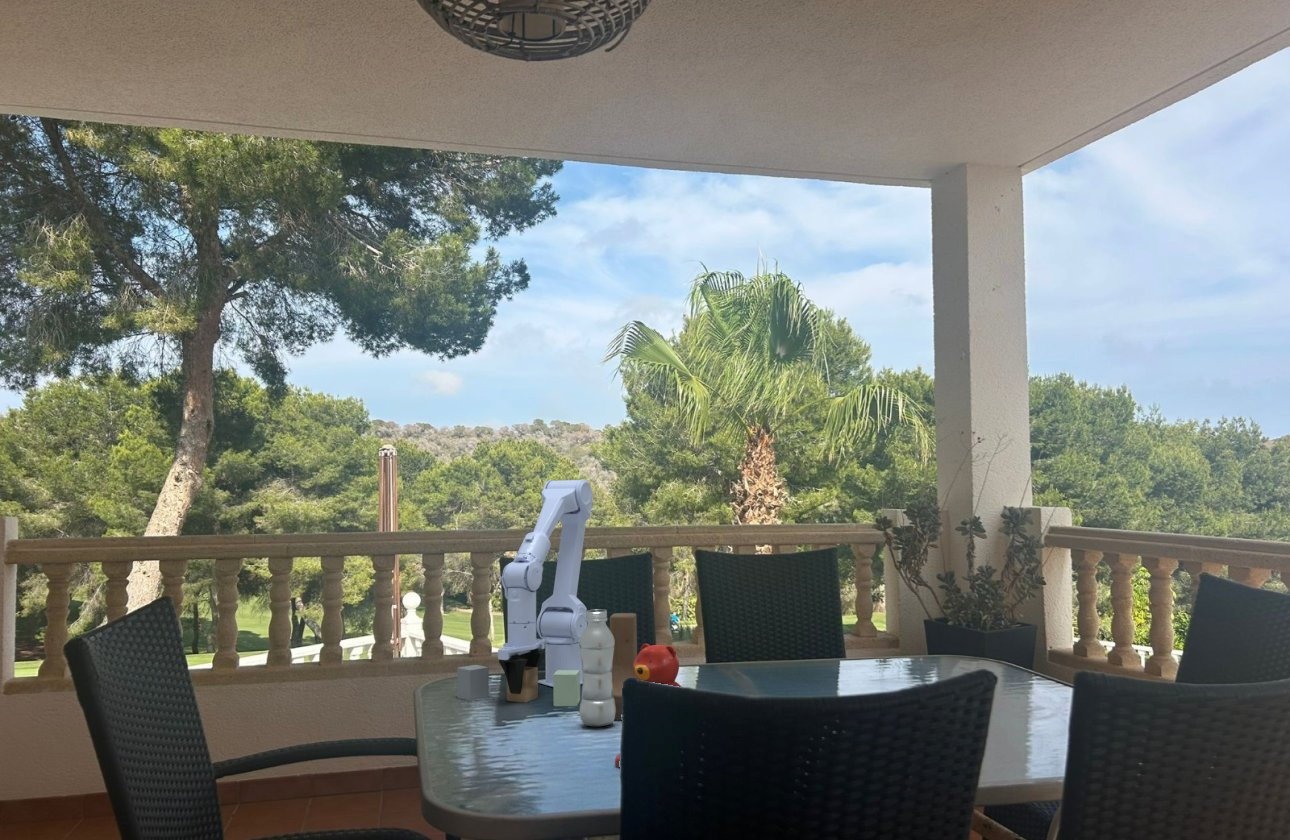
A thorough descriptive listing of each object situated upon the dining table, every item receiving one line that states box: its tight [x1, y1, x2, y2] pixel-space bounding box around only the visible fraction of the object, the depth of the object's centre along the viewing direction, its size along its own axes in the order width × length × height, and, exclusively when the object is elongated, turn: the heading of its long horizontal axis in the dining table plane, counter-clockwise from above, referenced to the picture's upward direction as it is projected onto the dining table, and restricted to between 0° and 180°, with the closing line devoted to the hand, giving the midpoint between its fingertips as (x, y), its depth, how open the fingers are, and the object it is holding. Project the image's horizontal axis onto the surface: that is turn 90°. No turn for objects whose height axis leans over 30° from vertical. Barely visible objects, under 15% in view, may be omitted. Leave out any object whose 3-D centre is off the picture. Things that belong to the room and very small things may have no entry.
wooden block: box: [609, 612, 638, 721], centre depth 173 cm, size 9×4×18 cm, turn 173°
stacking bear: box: [614, 643, 682, 768], centre depth 140 cm, size 11×10×18 cm
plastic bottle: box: [579, 609, 616, 728], centre depth 165 cm, size 6×7×20 cm
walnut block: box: [506, 667, 539, 703], centre depth 187 cm, size 4×4×6 cm
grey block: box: [456, 664, 490, 702], centre depth 190 cm, size 4×4×6 cm
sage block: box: [552, 670, 581, 707], centre depth 183 cm, size 4×4×6 cm
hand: (522, 690), depth 187 cm, fingers closed on walnut block, 4 cm apart
